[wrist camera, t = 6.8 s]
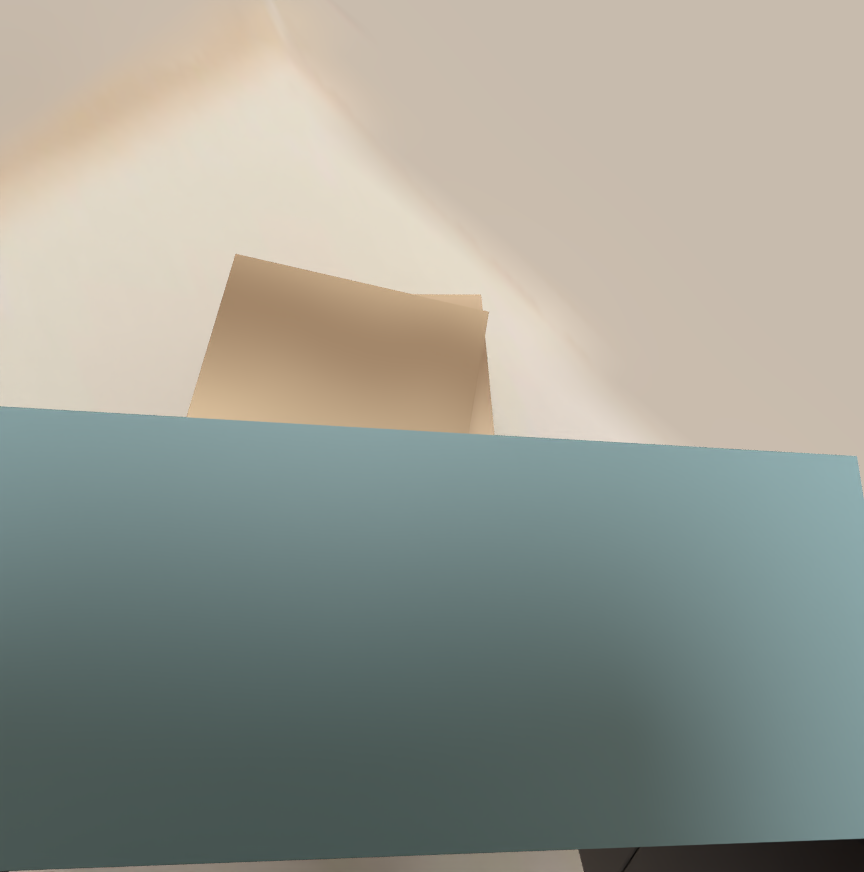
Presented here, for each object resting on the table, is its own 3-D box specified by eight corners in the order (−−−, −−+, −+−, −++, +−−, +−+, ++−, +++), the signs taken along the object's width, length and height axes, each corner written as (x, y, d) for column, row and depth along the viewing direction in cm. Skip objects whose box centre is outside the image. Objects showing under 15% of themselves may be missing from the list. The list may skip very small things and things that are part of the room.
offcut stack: (465, 504, 18) (515, 477, 12) (237, 492, 17) (180, 457, 11) (469, 350, 19) (516, 261, 14) (257, 332, 18) (213, 228, 13)
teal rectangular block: (445, 609, 16) (917, 837, 3) (232, 605, 15) (-692, 898, 2) (446, 546, 16) (858, 456, 3) (239, 540, 16) (-463, 379, 2)
